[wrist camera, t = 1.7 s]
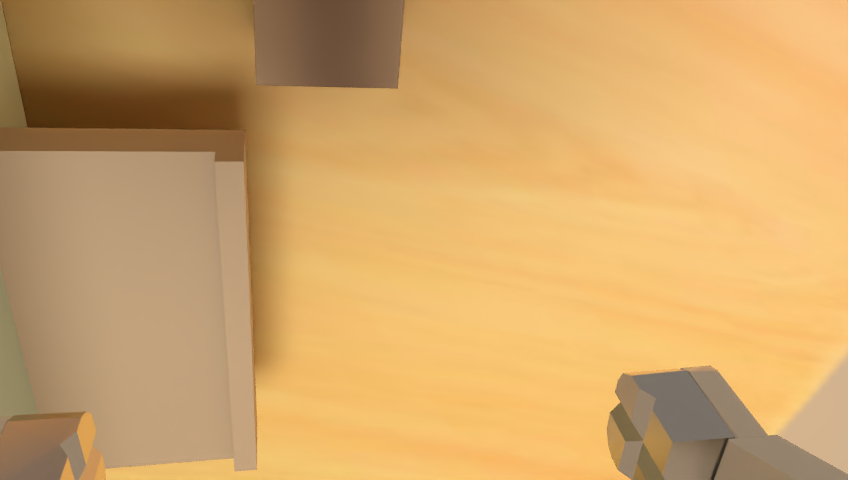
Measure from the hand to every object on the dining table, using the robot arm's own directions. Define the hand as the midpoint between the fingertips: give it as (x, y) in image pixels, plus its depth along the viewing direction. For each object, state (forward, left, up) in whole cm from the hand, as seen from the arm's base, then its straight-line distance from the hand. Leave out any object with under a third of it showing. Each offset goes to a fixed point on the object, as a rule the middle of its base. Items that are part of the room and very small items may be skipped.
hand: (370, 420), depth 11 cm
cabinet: (-2, +1, -23) cm, 23 cm away
